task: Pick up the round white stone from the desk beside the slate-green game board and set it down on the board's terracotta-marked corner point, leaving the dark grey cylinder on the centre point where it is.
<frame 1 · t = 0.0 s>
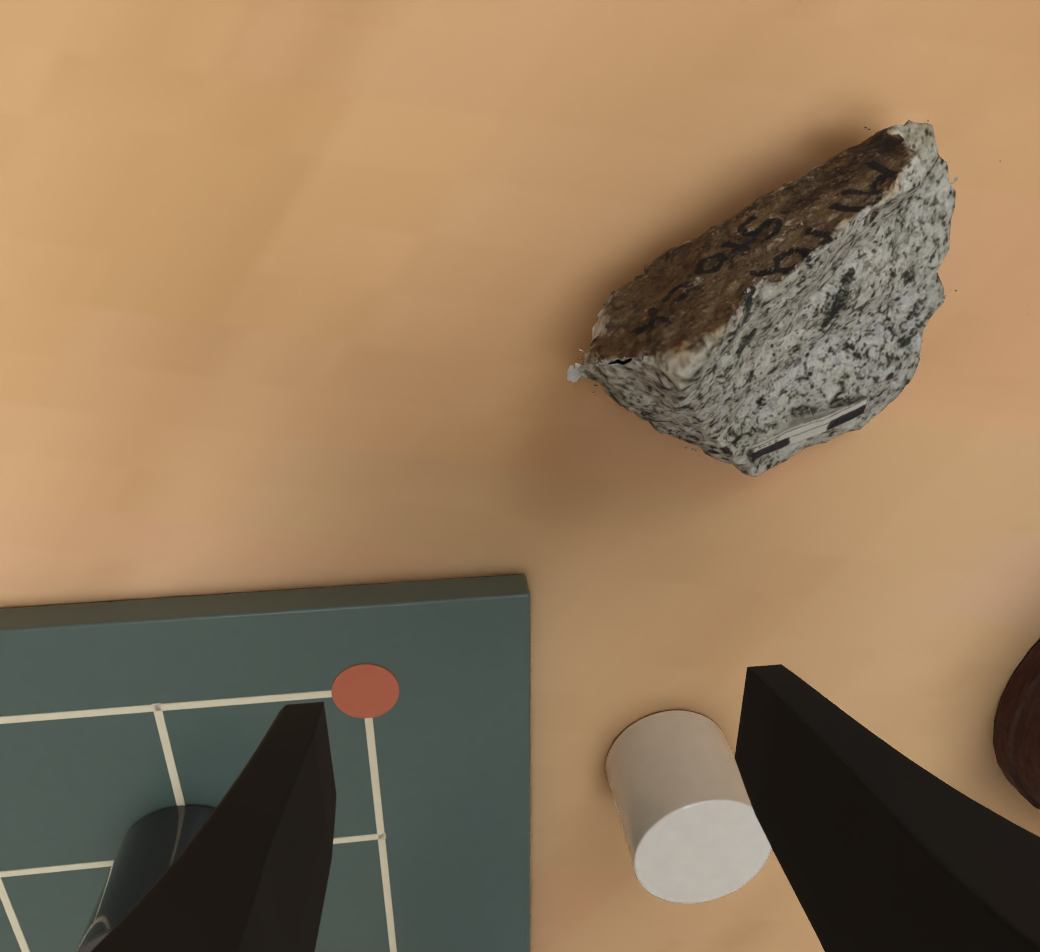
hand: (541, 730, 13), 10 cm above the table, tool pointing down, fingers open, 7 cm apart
rock sample: (776, 301, 21), on the table
dark grey cylinder: (193, 855, 25), point 1 cm above the table, touching game board
game board: (202, 824, 26), on the table
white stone: (666, 758, 27), on the table
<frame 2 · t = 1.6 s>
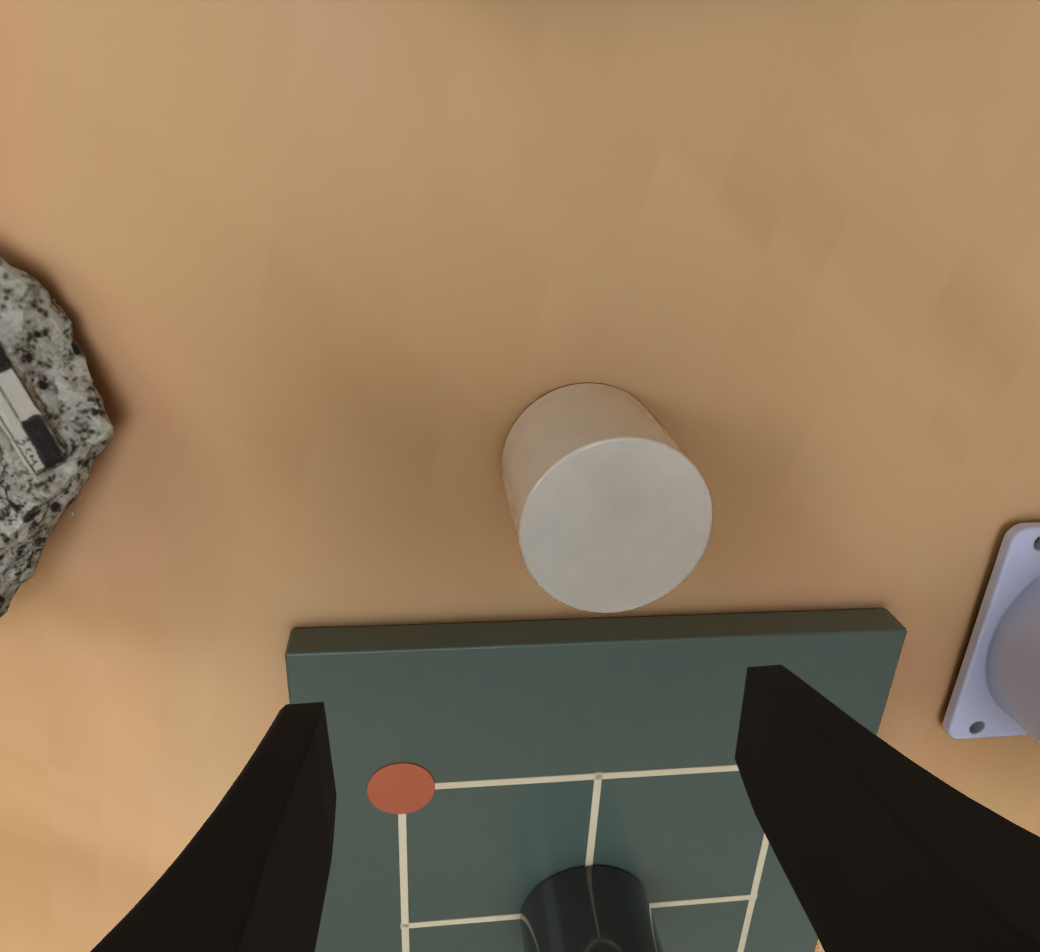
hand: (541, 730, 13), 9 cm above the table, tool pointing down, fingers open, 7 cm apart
dark grey cylinder: (584, 911, 26), point 1 cm above the table, touching game board
game board: (577, 879, 27), on the table
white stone: (582, 461, 21), on the table
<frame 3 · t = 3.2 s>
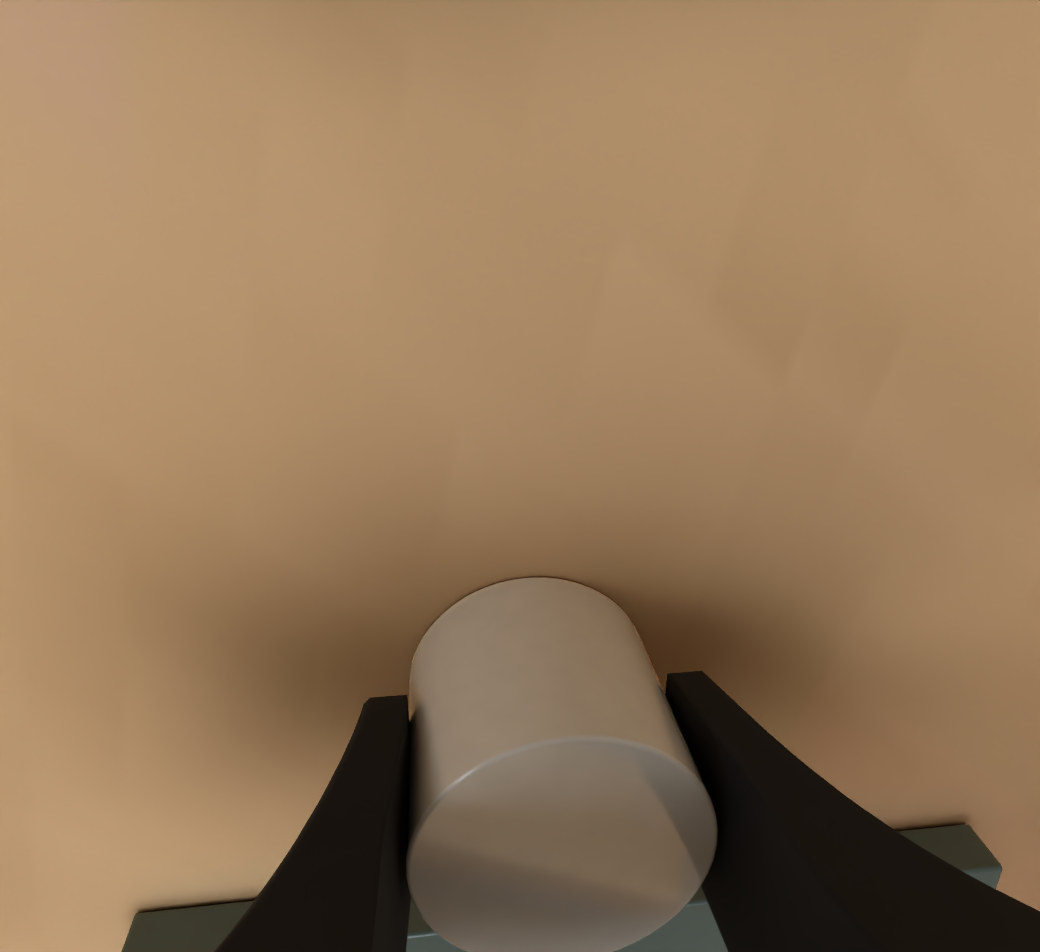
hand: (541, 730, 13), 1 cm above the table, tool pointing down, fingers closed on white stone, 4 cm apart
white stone: (528, 677, 14), on the table, touching gripper
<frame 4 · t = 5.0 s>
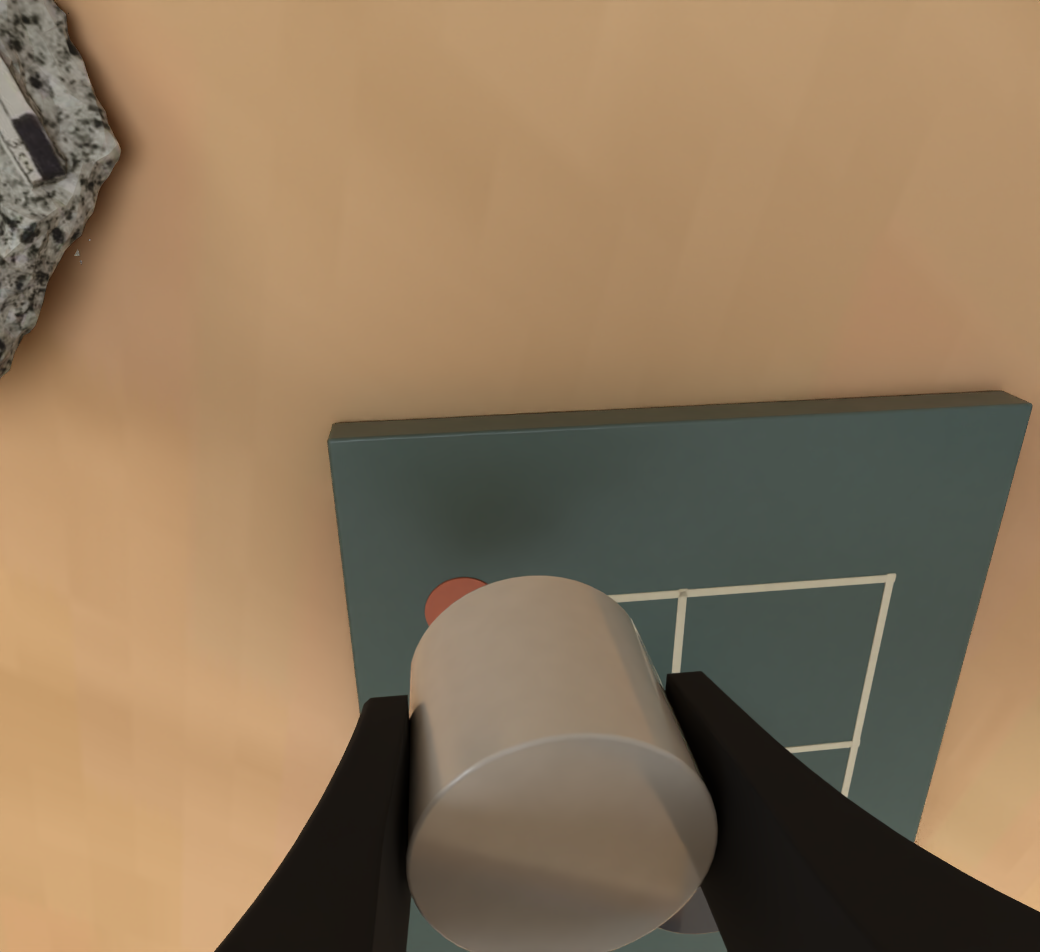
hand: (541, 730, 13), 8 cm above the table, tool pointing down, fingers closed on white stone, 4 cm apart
dark grey cylinder: (668, 762, 23), point 1 cm above the table, touching game board
game board: (657, 733, 25), on the table
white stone: (528, 676, 14), point 7 cm above the table, touching gripper
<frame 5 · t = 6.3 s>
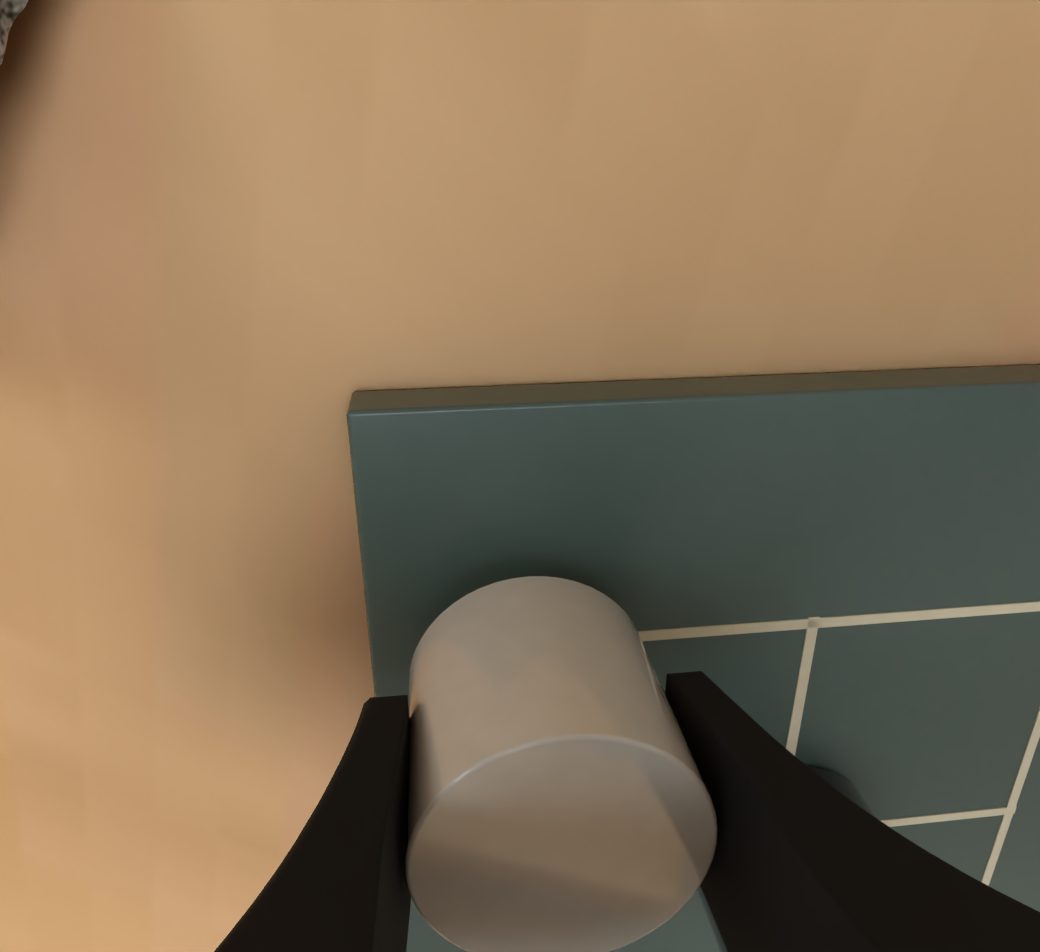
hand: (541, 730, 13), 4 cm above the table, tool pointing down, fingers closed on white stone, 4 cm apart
dark grey cylinder: (775, 835, 18), point 1 cm above the table, touching game board
game board: (755, 795, 19), on the table
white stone: (528, 676, 14), point 2 cm above the table, touching gripper
when the fingers open (3 cm above the table, at t = 7.1 s): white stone stays where it is, resting on game board.
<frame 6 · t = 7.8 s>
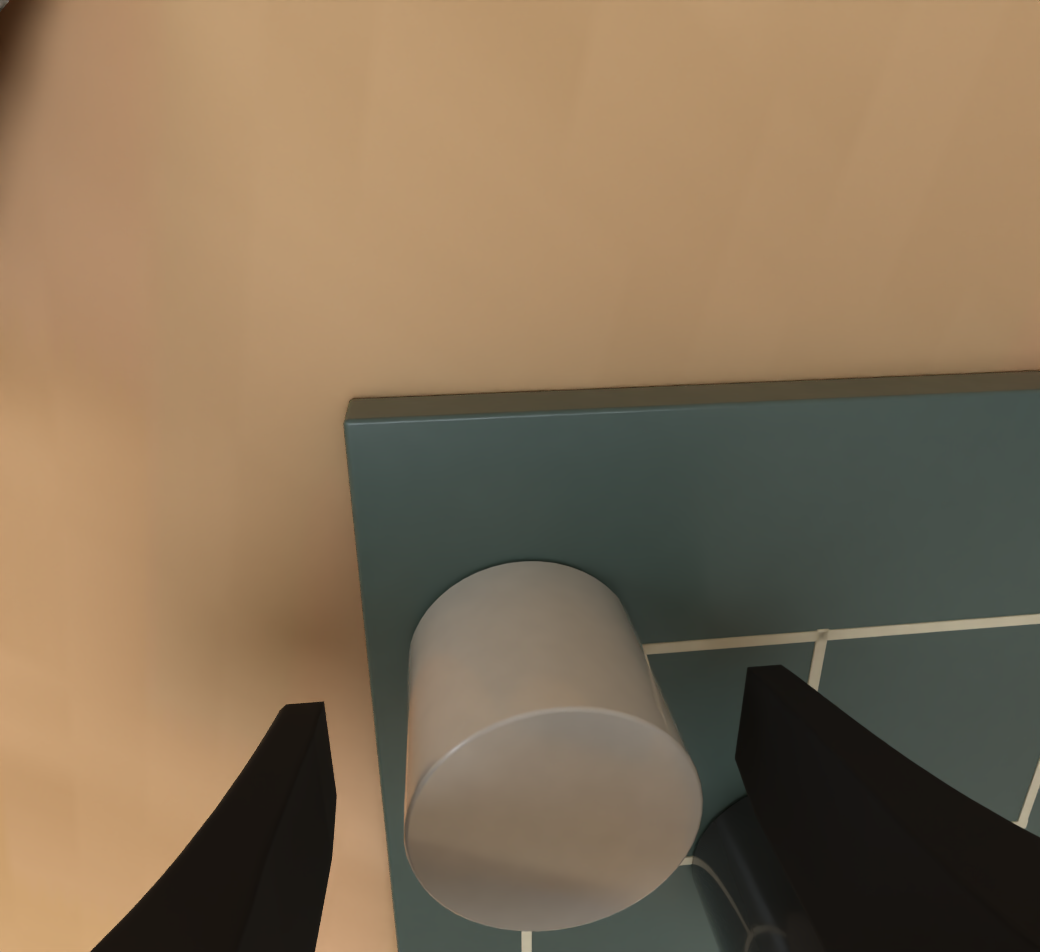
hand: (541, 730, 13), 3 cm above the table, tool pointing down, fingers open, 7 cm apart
dark grey cylinder: (782, 850, 18), point 1 cm above the table, touching game board
game board: (761, 808, 19), on the table
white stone: (523, 659, 15), point 1 cm above the table, touching game board
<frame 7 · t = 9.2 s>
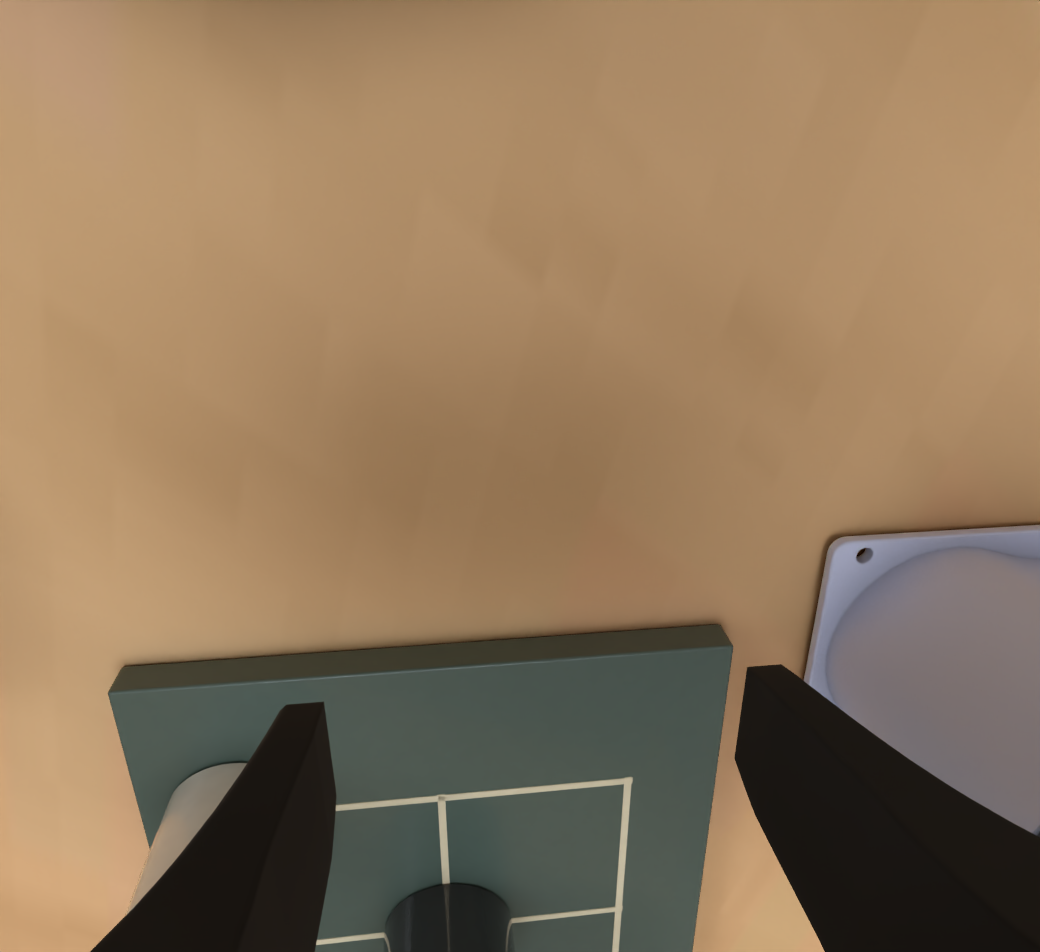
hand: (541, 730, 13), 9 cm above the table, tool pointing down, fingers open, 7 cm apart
dark grey cylinder: (448, 928, 27), point 1 cm above the table, touching game board
game board: (447, 896, 28), on the table
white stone: (242, 817, 23), point 1 cm above the table, touching game board
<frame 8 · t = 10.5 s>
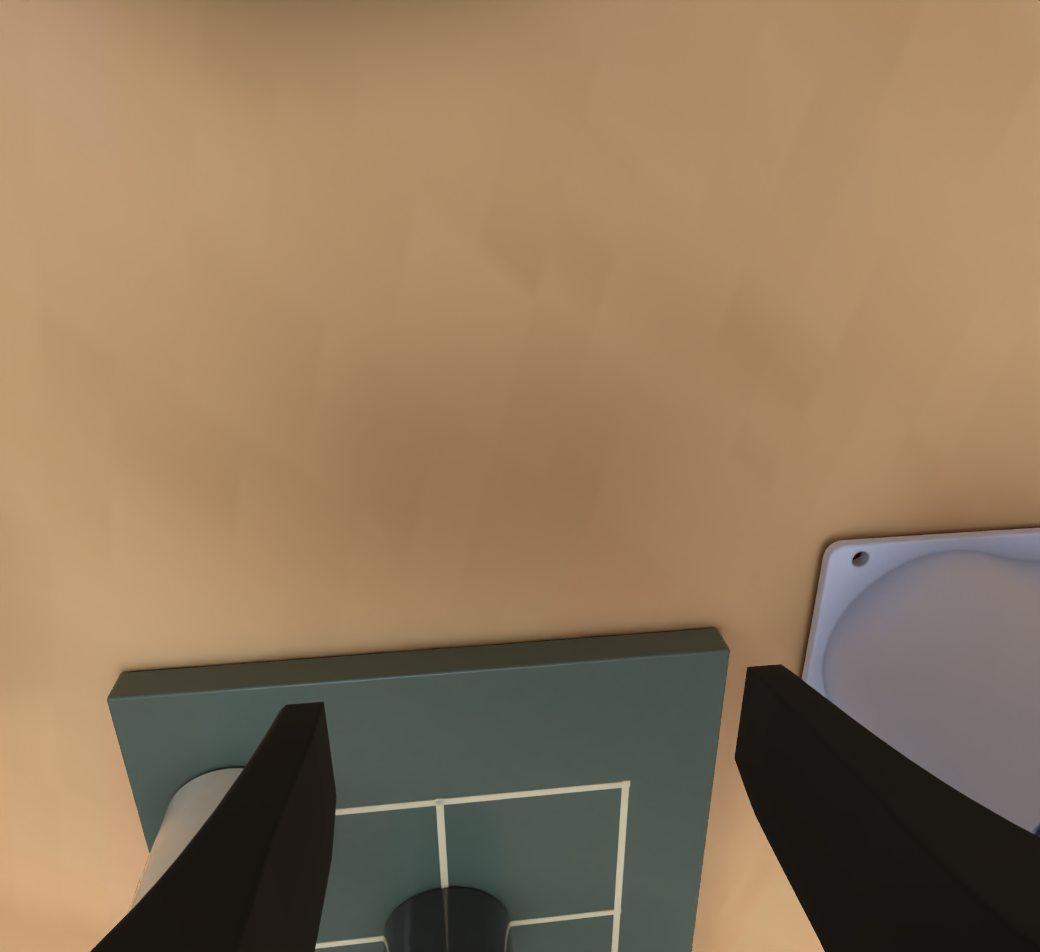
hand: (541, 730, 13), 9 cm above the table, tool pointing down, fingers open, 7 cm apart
dark grey cylinder: (447, 931, 27), point 1 cm above the table, touching game board
game board: (446, 899, 28), on the table
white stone: (241, 821, 24), point 1 cm above the table, touching game board
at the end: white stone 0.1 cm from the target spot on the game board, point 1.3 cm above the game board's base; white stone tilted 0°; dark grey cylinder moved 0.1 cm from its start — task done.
